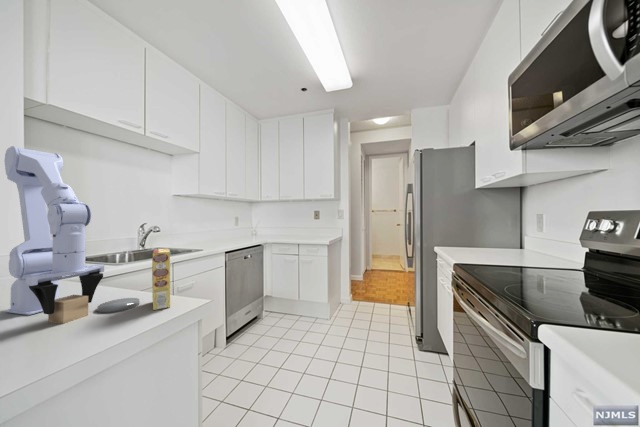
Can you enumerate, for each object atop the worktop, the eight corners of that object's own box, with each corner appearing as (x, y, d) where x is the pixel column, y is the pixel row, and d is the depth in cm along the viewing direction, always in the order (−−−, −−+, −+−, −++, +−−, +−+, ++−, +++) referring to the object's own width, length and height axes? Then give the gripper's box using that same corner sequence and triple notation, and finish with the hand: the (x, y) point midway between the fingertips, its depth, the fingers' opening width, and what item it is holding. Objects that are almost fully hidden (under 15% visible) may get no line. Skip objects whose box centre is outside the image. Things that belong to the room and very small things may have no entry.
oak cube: (48, 322, 59) (48, 301, 59) (73, 314, 63) (73, 294, 64) (63, 324, 57) (63, 302, 58) (88, 315, 62) (88, 295, 62)
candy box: (170, 307, 67) (170, 251, 68) (151, 311, 65) (152, 252, 65) (169, 298, 75) (169, 248, 75) (152, 301, 72) (152, 249, 73)
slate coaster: (88, 311, 65) (88, 307, 65) (122, 300, 74) (123, 296, 74) (114, 314, 63) (114, 310, 63) (147, 302, 72) (147, 298, 72)
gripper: (41, 257, 53) (41, 321, 52) (113, 248, 67) (112, 299, 67) (19, 256, 54) (18, 318, 54) (93, 248, 69) (93, 297, 68)
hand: (69, 307), depth 60 cm, fingers open, 7 cm apart
